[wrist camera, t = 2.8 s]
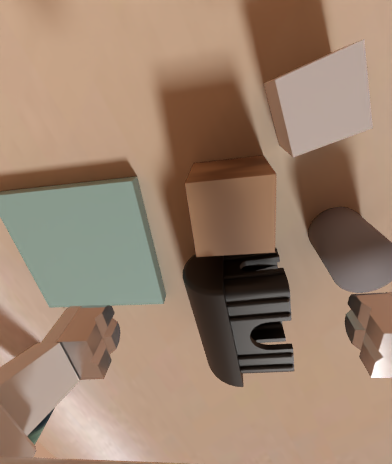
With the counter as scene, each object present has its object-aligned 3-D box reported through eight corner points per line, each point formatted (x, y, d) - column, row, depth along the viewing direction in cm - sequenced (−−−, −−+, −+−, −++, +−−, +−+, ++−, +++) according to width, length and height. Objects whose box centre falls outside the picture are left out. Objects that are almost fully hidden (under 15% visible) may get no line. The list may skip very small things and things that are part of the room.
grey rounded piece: (366, 204, 19) (410, 237, 14) (357, 250, 20) (394, 291, 16) (310, 209, 19) (336, 242, 15) (306, 253, 21) (328, 293, 17)
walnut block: (263, 155, 18) (276, 174, 13) (263, 218, 20) (274, 252, 16) (193, 162, 18) (184, 183, 14) (202, 223, 21) (196, 257, 16)
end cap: (188, 242, 22) (175, 297, 16) (271, 231, 21) (291, 285, 15) (209, 323, 26) (205, 389, 20) (279, 318, 25) (296, 387, 19)
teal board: (136, 176, 19) (132, 180, 18) (166, 295, 25) (163, 303, 24) (0, 191, 21) (-11, 196, 20) (56, 299, 26) (49, 307, 25)
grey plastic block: (330, 52, 15) (364, 38, 11) (340, 121, 16) (372, 128, 13) (263, 83, 16) (274, 79, 12) (278, 145, 17) (293, 157, 14)
